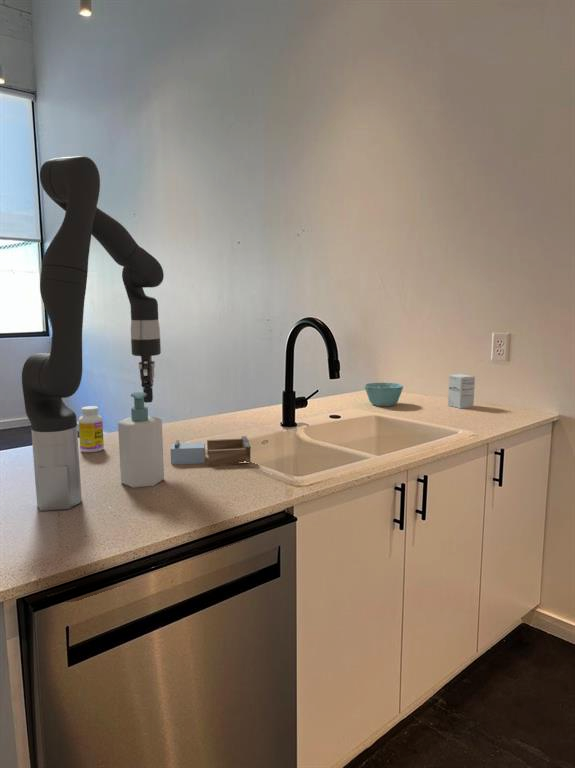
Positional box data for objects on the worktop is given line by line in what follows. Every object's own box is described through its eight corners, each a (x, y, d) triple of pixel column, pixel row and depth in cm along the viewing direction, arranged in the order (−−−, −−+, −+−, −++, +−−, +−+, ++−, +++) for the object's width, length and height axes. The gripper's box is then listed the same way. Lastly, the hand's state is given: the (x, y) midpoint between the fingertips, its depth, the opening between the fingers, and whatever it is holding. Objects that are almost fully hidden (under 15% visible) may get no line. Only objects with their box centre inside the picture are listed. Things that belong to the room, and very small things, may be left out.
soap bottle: (121, 489, 136) (116, 397, 133) (121, 477, 145) (116, 391, 142) (165, 485, 139) (161, 395, 136) (163, 473, 148) (159, 389, 144)
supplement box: (447, 405, 234) (448, 374, 232) (461, 404, 237) (462, 373, 235) (459, 408, 227) (461, 377, 225) (474, 407, 230) (475, 375, 228)
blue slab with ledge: (204, 463, 157) (204, 444, 156) (171, 465, 156) (170, 445, 155) (205, 457, 163) (204, 438, 162) (173, 458, 162) (172, 439, 161)
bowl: (357, 402, 242) (358, 382, 240) (391, 400, 246) (392, 381, 245) (374, 409, 227) (374, 388, 226) (409, 407, 232) (410, 386, 230)
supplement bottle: (96, 453, 167) (94, 410, 165) (75, 452, 168) (73, 409, 166) (108, 447, 173) (105, 405, 171) (88, 446, 174) (85, 404, 172)
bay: (250, 463, 156) (250, 446, 156) (208, 465, 155) (208, 449, 154) (246, 451, 168) (246, 436, 167) (207, 453, 166) (207, 437, 165)
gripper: (158, 338, 146) (161, 405, 149) (161, 335, 160) (163, 396, 162) (128, 339, 145) (131, 407, 148) (133, 335, 158) (136, 397, 161)
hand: (148, 401), depth 155 cm, fingers closed
